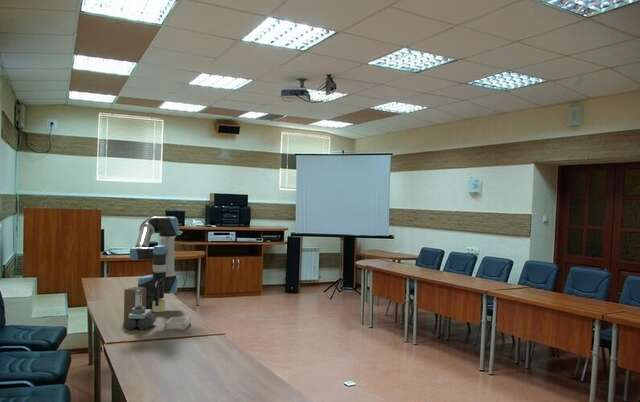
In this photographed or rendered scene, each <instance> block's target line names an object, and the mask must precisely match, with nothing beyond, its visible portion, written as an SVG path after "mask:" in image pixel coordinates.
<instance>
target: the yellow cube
mask: <svg viewBox="0 0 640 402" xmlns="http://www.w3.org/2000/svg"><path fill="white" fill-rule="evenodd" d="M164 311H166V299H163V300H160V311H155V301H153V302H152V313H153V312H154V313H155V312H157V313H159V312H160V313H163V312H164Z"/></svg>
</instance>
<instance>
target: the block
mask: <svg viewBox="0 0 640 402" xmlns="http://www.w3.org/2000/svg"><path fill="white" fill-rule="evenodd" d="M136 290H142V307H145V309H146V288H143V287H138V286H132V287H129V288H126V289H124V291H123V295H124V297H123V298H124V299H123V322H124V321H125V320H126V319H127V318H128V315H129V314H131V313H132V308H134V307H135V298H136Z"/></svg>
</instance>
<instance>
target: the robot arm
mask: <svg viewBox="0 0 640 402" xmlns="http://www.w3.org/2000/svg"><path fill="white" fill-rule="evenodd" d="M138 230H139V231H138V232H139V234H138V237H137V240H136V243H135V246H133V247H130V249H129V259H130V260H132V261H133V260H136V261H140V260H141V261H143V260H144V261H145V260H146V261H147V260H148V261H149V260H152V266H151V268H152V271H153V272H152V274H148V275H143V276H140V277H139V278H138V279H137V287H143V288H146V309H149V310H152V302H153V301H155V311H160V300H164V298H165V294H166V295H168V294H171V295H172V294H176V292H177V290H178V283H179V276H177V273H176V272H175V238H176V237H177V236H178V234H179V233H180V225H179V220H178V218H177V216H168V215H167V216H166V215H165V216H156V215H155V216H151V217H148V218H147V219H145V220H144V221H143V222H142V223H141V224H140V226H139V229H138ZM154 234H159V237H160V239H161V245H160V244H159V245H154V246H153V247H149V246H150V243H151V238H152V235H154Z"/></svg>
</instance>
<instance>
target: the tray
mask: <svg viewBox="0 0 640 402" xmlns="http://www.w3.org/2000/svg"><path fill="white" fill-rule="evenodd" d="M190 325H191V316H171V317H170V318H168V319H167V320H166V321H165V322H164V330H165V331H185V330H186V329H188V327H189V326H190Z"/></svg>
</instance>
